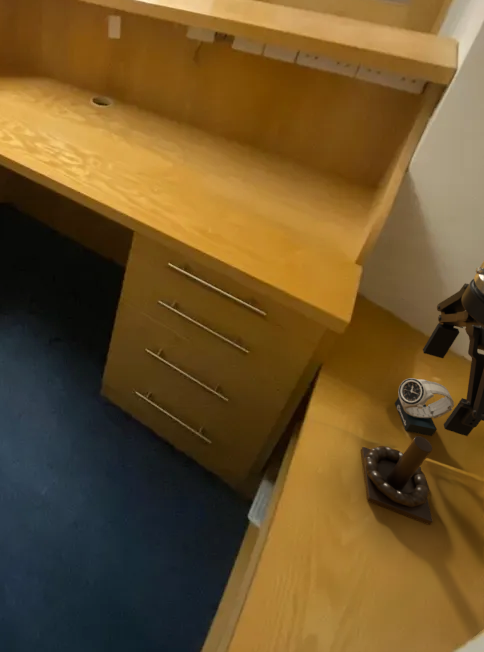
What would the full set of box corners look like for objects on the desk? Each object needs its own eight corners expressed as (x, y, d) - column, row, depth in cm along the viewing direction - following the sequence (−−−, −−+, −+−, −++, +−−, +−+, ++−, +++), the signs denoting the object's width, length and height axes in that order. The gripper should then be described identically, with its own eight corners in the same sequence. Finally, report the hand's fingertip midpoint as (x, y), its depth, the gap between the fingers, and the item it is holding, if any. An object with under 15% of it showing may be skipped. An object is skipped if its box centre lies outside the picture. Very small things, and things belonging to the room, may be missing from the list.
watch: (382, 403, 100) (402, 369, 94) (427, 412, 98) (451, 377, 93) (392, 431, 95) (415, 397, 89) (440, 441, 94) (466, 406, 88)
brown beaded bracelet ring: (417, 460, 90) (421, 454, 89) (433, 517, 82) (438, 511, 81) (359, 442, 92) (362, 437, 91) (369, 496, 85) (373, 491, 84)
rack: (418, 470, 89) (449, 428, 83) (430, 525, 82) (465, 484, 75) (360, 449, 92) (386, 407, 86) (367, 501, 85) (395, 459, 78)
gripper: (448, 229, 79) (400, 320, 90) (504, 361, 59) (433, 458, 70) (508, 242, 76) (450, 334, 87) (587, 384, 57) (500, 480, 68)
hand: (443, 389), depth 79 cm, fingers open, 13 cm apart
